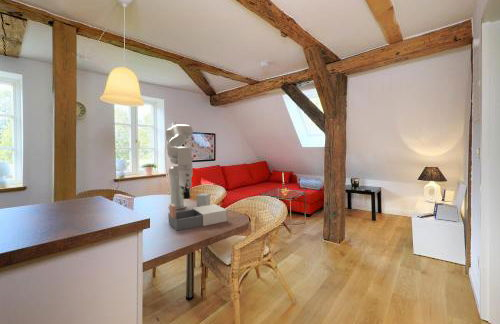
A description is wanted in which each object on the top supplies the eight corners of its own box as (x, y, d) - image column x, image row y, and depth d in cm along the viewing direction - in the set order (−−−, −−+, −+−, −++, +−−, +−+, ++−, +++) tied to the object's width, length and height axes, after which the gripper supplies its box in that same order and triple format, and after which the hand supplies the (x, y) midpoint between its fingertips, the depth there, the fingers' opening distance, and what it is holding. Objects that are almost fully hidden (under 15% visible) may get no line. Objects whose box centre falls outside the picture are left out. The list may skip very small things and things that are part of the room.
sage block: (187, 196, 150) (187, 187, 150) (190, 198, 146) (190, 188, 145) (179, 197, 147) (179, 188, 147) (182, 199, 143) (182, 189, 143)
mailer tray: (167, 222, 150) (167, 202, 149) (196, 217, 160) (195, 198, 159) (175, 230, 137) (175, 208, 136) (206, 224, 147) (206, 203, 146)
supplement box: (210, 210, 178) (210, 193, 176) (206, 213, 170) (205, 195, 169) (201, 209, 180) (201, 193, 178) (196, 212, 172) (196, 195, 171)
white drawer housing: (192, 218, 160) (192, 207, 159) (214, 214, 169) (214, 204, 168) (203, 226, 145) (203, 214, 144) (227, 221, 154) (227, 210, 154)
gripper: (195, 168, 140) (196, 199, 142) (185, 166, 154) (186, 194, 156) (183, 169, 136) (183, 201, 137) (173, 166, 150) (174, 196, 151)
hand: (185, 197), depth 147 cm, fingers closed on sage block, 5 cm apart
